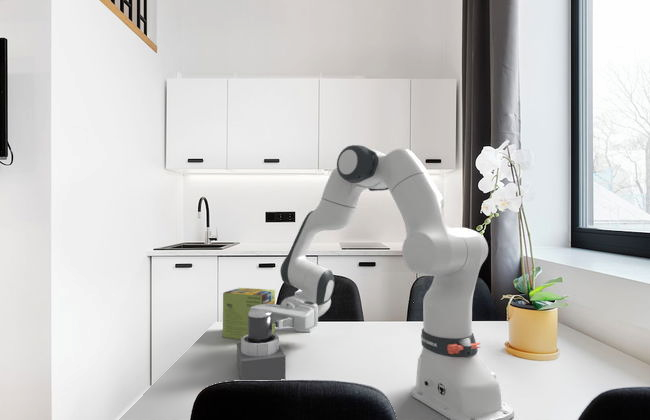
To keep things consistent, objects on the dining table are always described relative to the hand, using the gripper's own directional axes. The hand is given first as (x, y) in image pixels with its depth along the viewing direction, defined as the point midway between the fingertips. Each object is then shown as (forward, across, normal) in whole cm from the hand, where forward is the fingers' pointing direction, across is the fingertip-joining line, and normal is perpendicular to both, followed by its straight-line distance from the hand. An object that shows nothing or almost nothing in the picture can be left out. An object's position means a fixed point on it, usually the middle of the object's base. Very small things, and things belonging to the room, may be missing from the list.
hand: (263, 321), depth 103 cm
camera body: (+1, 0, +13) cm, 13 cm away
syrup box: (-36, -12, +13) cm, 40 cm away
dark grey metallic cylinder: (+1, 0, +7) cm, 7 cm away
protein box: (-21, -25, +13) cm, 35 cm away
